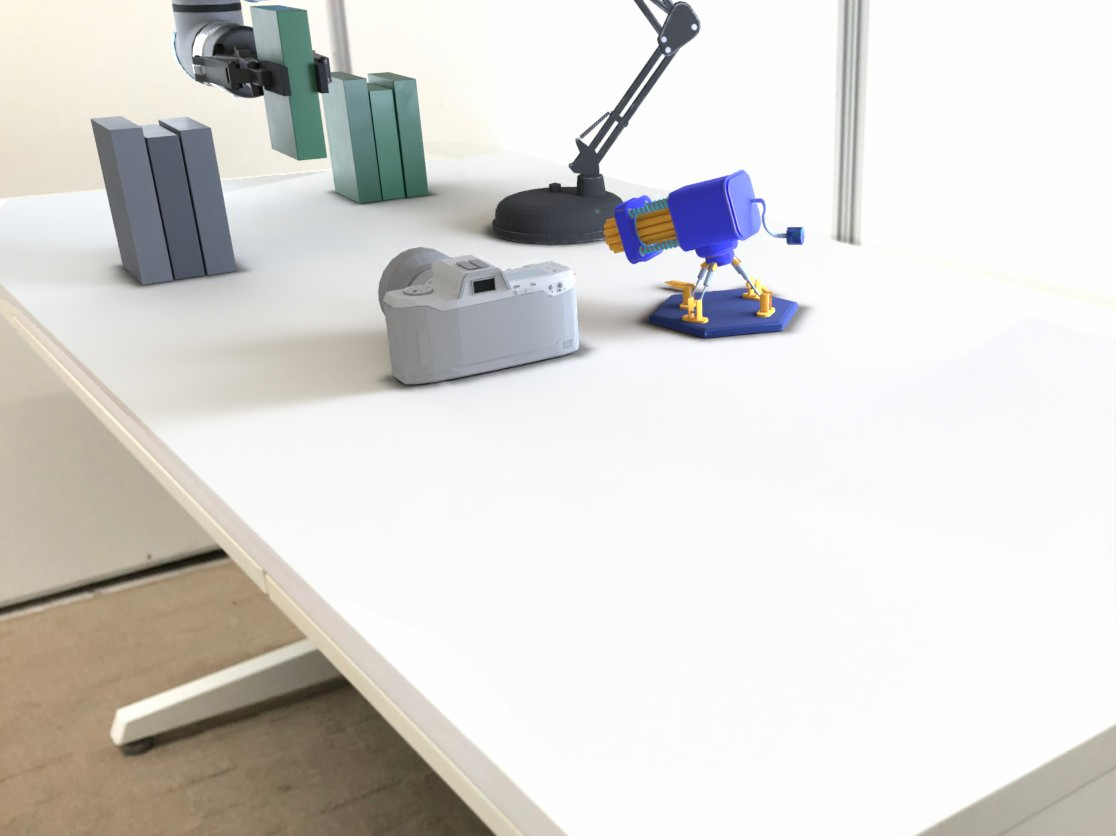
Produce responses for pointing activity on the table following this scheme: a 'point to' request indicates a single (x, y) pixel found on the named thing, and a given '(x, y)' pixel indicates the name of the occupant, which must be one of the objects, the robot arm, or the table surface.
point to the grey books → (165, 198)
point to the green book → (298, 115)
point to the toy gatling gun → (704, 254)
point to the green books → (375, 136)
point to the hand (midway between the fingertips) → (304, 80)
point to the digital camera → (473, 315)
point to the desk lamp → (592, 156)
